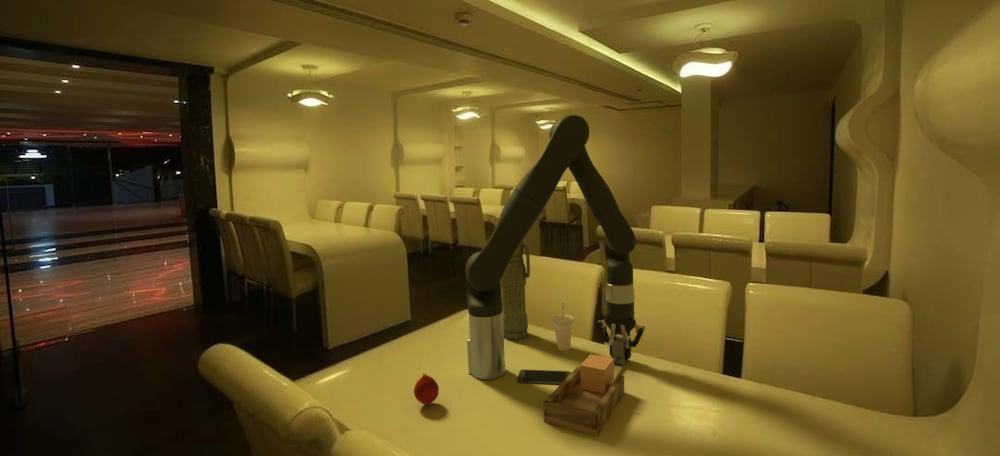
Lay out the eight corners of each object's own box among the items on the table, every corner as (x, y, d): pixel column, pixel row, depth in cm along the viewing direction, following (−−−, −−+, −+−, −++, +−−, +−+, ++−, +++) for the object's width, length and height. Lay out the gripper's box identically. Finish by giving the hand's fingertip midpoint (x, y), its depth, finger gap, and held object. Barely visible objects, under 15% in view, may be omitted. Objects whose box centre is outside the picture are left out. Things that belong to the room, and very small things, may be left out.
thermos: (500, 329, 158) (495, 229, 153) (534, 331, 155) (530, 228, 150) (494, 339, 149) (489, 233, 144) (529, 341, 146) (526, 233, 142)
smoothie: (573, 344, 142) (572, 300, 140) (575, 352, 136) (574, 307, 134) (553, 344, 143) (551, 300, 141) (553, 352, 137) (552, 307, 135)
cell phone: (520, 371, 126) (520, 369, 126) (571, 373, 123) (571, 371, 123) (516, 384, 119) (516, 381, 119) (570, 386, 116) (570, 384, 116)
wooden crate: (596, 436, 94) (596, 416, 94) (543, 421, 100) (543, 402, 100) (624, 393, 111) (624, 375, 110) (577, 383, 117) (577, 366, 117)
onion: (443, 400, 112) (441, 369, 110) (432, 412, 106) (430, 380, 105) (422, 397, 113) (420, 366, 112) (410, 409, 108) (408, 377, 107)
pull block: (605, 398, 108) (604, 370, 107) (580, 393, 111) (580, 365, 110) (633, 358, 129) (633, 334, 128) (612, 355, 132) (612, 331, 131)
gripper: (590, 299, 126) (591, 358, 129) (642, 305, 119) (642, 368, 121) (599, 292, 133) (600, 349, 135) (649, 297, 125) (649, 357, 128)
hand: (620, 358), depth 128 cm, fingers closed on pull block, 3 cm apart
